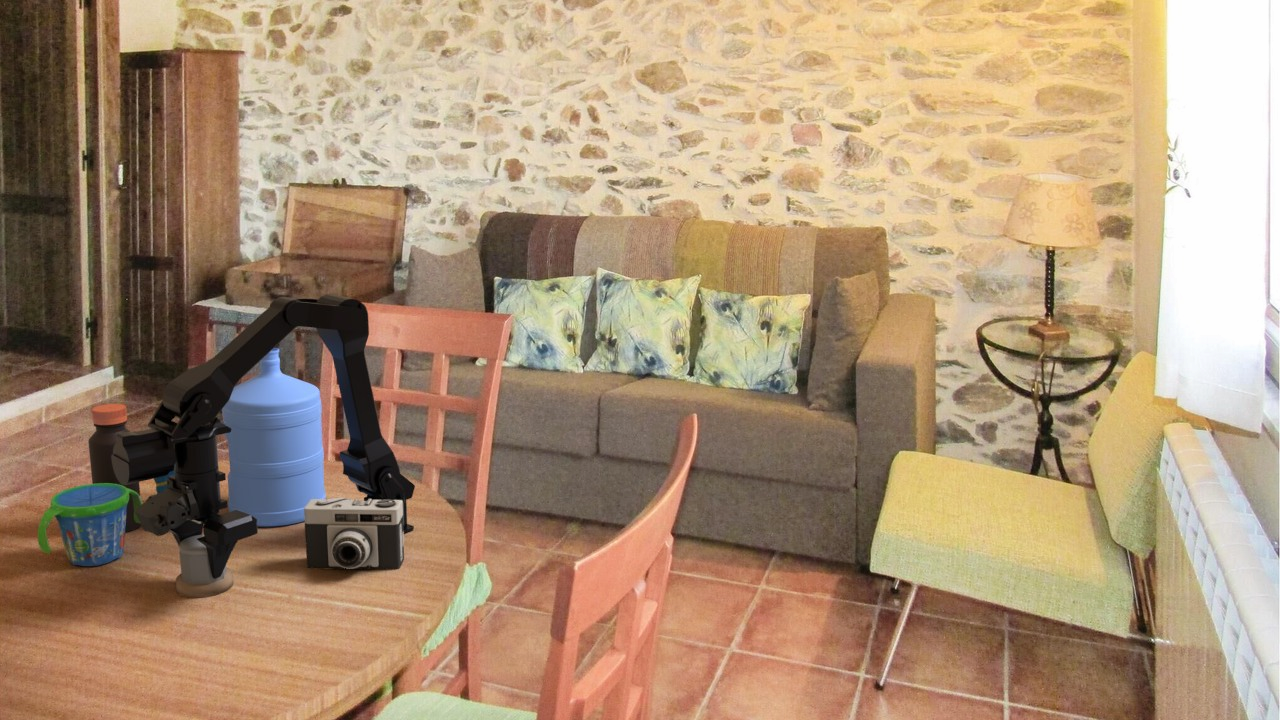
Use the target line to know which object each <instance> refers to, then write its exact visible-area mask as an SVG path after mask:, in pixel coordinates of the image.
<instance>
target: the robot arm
mask: <svg viewBox="0 0 1280 720" xmlns="http://www.w3.org/2000/svg"><path fill="white" fill-rule="evenodd" d="M369 325H370V322H369V312H368V309H367V306H366V305H365V304H364V303H363V302H361V301H360V300H359V299H355V298H352V297H348V296H343V295H339V294H334V293H326V294H324V295H322V296H320V297H319V298H305V297H304V298H303V297H299V298H298V297H297V298H296V297H295V298H292V297H287V296H278V297H277V298H275V299H274V300H272V302H271V303H270V305H269V307H268V308H266V309H265V310H263V312H262V313H261V314H260V315H259V316H258V317H257V318H255V320H253V321H252V322H251V323H250V324H249V325H248V326H247V327H245V328H244V329H243V330H242V331H241V332H240V333H239V334H238V335H237V336H235V337H234V338H233V339H232V340H231V341H230V342H229V343H228V344H226V346H225V347H223V348H222V349H221V350H220V351H219V352H218V353H217V354H216V355H214V356H213V357H212V358H210V359H209V360H208V361H205V362H204V363H201V364H198V365H197V366H193V367H191V368H189V369H188V370H186V371H184V372H183V373H181V374H180V375H178V376H177V377H175V378H174V379H172V380H171V381H169V382H168V383H167V385H166V386H165V387H164V389H163V391H162V394H163V395H162V400H161V402H160V404H159V405H158V407H157V408H156V410H155V412H154V413H153V415H152V417H151V419H150V421H149V422H148V423H147V427H148V429H143V430H137V431H130V432H124V433H119V434H117V443H116V444H115V445H114V448H113V454H112V455H111V459H112V465H113V470H114V473H115V475H116V477H117V479H118V481H119V482H120V483H121V484H122V485H127V484H132V483H136V482H139V483H140V482H145V481H148V480H154V478H158V477H163V476H167V475H168V474H169V472H171V471H174V472H175V475H172V476H168V480H167V489H166V490H165V491H163V492H161V493H159V494H157V493H155V494H152V495H149V497H147V499H146V500H145V502H143V504H142V505H140V506H139V507H138V508H136V509H135V514H136V516H137V518H138V520H139V522H140V524H141V526H140V527H141V528H142V529H143V531H144V532H149V533H152V534H153V535H155V536H157V537H161V536H163V535H166V534H168V533H169V532H170V533H171V534H172V535H173V538H174V539H175V541H176V543H177V546H178V547H179V543H180V542H181V541H182V540H184V539H186V538H189V537H192V536H196V535H203V534H204V536H203V537H200V538H197V540H198V541H199V542H201V543H202V544H204V545H205V546H206V548H207V553H208V559H209V565H210V570H211V574H212V577H213V578H214V579H216V578H219V577H220V576H221V575H222V573H223V570H224V568H225V566H226V567H227V563H228V561H229V559H230V556H231V554H232V552H233V550H234V548H235V546H236V545H237V543H238V541H242V540H244V539H246V538H247V539H248V538H249V537H253V536H255V535H257V534H258V532H259V531H258V530H259V529H258V528H259V526H257V519H256V518H254V517H253V516H251V515H249V514H246V513H244V512H241V511H238V510H234V511H231V512H229V511H228V512H225V513H220V510H225V509H229V506H228V500H226V499H223V498H221V487H220V486H221V484H220V482H223V481H227V477H226V472H224V471H220V470H219V458H218V444H217V443H218V442H217V436H220V435H225V433H230V432H231V428H230V427H228V426H227V425H225V424H224V421H223V420H221V419H220V417H218V415H219V414H220V413H221V412H222V409H223V407H224V406H225V405H226V404H227V402H228V401H229V399H230V397H231V394H232V392H233V389H234V387H235V386H237V385H238V383H239V382H240V380H242V378H244V377H245V376H246V375H247V374H248V373H249V372H250V371H251V370H252V369H253V368H254V367H255V366H256V365H258V363H259V364H260V361H261V360H262V359H263V358H264V357H265V356H266V355H267V354H268V353H269V352H270V351H271V350H273V349H274V348H277V346H278V345H279V344H280V343H282V341H283V340H285V339H286V337H288V336H289V335H290V334H291V333H292V332H293V331H294V330H295V329H297V328H298V327H301V328H302V327H303V328H315V329H316V331H317V334H318V336H319V338H320V340H321V341H322V343H323V344H324V346H325V347H326V348H327V350H328V352H329V353H330V354H331V357H332V360H333V364H334V366H333V367H334V369H335V374H336V379H337V385H338V389H339V393H340V396H341V397H340V398H341V401H342V406H343V411H344V412H343V413H344V414H345V415H344V416H345V420H346V426H347V429H348V430H347V431H348V434H349V443H348V446H347V449H345V450H342V451H340V452H339V457H340V460H341V462H342V466H343V469H342V474H343V475H345V476H346V477H347V478H348V480H349V481H350V482H352V483H353V484H355V486H356V489H357V491H358V492H359V493H363V494H366V496H364V497H363V501H368V499H372V500H384V499H390V500H402V501H403V531H404V534H405V533H408V532H411V531H413V530H415V529H414V528H415V526H414V525H412V524H408V515H407V512H408V509H407V500H409V499H412V498H413V496H414V492H415V487H416V486H415V484H414V483H413V482H411V481H410V480H409V479H408V478H407V477H406V476H405V475H403V474H402V473H401V468H400V465H399V463H398V460H397V458H396V455H395V453H394V451H393V450H392V448H391V447H390V445H389V444H388V442H387V441H386V440H385V438H384V437H383V435H382V431H381V426H380V422H379V416H378V412H377V407H376V403H375V398H374V392H373V388H372V382H371V378H370V372H369V369H368V363H367V359H366V354H365V349H366V344H367V342H368V338H369V335H370V327H369ZM175 418H177V419H179V420H178V422H176V421H173V419H175Z"/></svg>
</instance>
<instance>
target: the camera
mask: <svg viewBox="0 0 1280 720" xmlns="http://www.w3.org/2000/svg"><path fill="white" fill-rule="evenodd" d="M304 515H305V521H304V535H305V537H304V538H305V552H306V553H305V554H306V556H305V557H306V568H307V569H314V568H333V569H334V568H336V569H334V570H338V569H340V568H341V569H340V570H400V569H401V567H402V565H403V563H404V560H405V536H404V535H405V533H404V531H403V501H402V500H390V499H384V500H372V499H368V501H364V500H360V498H358V497H357V498H355V499H352V498H346V497H333V498H327V499H311V500H310V501H309V502H308V504H307V505H306V506H305V508H304ZM337 568H338V569H337ZM342 568H344V569H342ZM345 568H346V569H345ZM361 568H362V569H361ZM333 569H332V570H333Z"/></svg>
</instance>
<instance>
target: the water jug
mask: <svg viewBox="0 0 1280 720" xmlns="http://www.w3.org/2000/svg"><path fill="white" fill-rule="evenodd" d="M279 353H280V349H279V348H277V347H275V348H274V349H273V350H271V351H270V352H269V353H268V354H267V355H266V356H265V357H264V358H263V359H262V360H261V361H260V362H259V367H260V371H259V373H258V375H256V376H253V377H251V378H249V379H248V380H246V381H243V382H241V383H240V384H236V386H235V387H234V389H233V392H232V394H231V397H230V399H229V401H228V402H227V404H226V405H225V406H224V407H223V409H222V410H221V414H222V422H223V423H224V424H225V425H227V426H228V427H230V428H231V432H230V433H225V434H224V437H225V438H226V440H227V445H228V459H229V460H228V461H229V472H228V475H227V488H228V490H227V491H228V500H227V505H228V512H231V511H234V510H238V511H241V512H244V513H246V514H249V515H251V516H253V517H254V518H256V519H257V526H258V527H263V528H264V527H265V528H266V527H269V528H270V527H282V526H290V525H294V524H298V523H303V522H305V515H304V508H305V506H306V505H307V504H308V502H309V501H310V500H311V499H326V498H327V496H326V490H325V476H324V475H325V474H324V473H325V472H324V460H325V459H324V458H325V457H324V456H325V455H324V446H323V431H322V430H323V429H322V426H323V425H322V410H323V409H322V400H321V392H320V389H319V388H318V387H317V386H316V385H314V384H312V383H309V382H306V381H304V380H301V379H298V378H295V377H292V376H291V375H288V374H284V373H282V371H281V369H280V368H281V365H280V363H281V360H280V359H281V358H280V357H279V356H280V355H279Z"/></svg>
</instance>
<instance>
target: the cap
mask: <svg viewBox="0 0 1280 720" xmlns="http://www.w3.org/2000/svg"><path fill="white" fill-rule="evenodd" d="M203 536H204V533H202V535H196V536H192V537H189V538H186V539H184V540H182V541H181V542H180V543H179V546H178V549H179V550H178V551H179V561H180V562H179V563H180V574H181V577H182V581H183V582H186V583H188V584H190V585H203V584H211V583H214V582H216V581H219V580H221V579H224V577H225V574H226V572H227V569H226V567H227V565H226V566H225V568H224V570H223V573H222V575H221V576H220V577H219V578H216V579H214V578H213V577H212V574H211V570H210V565H209V559H208V553H207V548H206V546H205V545H204V544H202V543H201V542H199V541H198V540H197V538H200V537H203Z"/></svg>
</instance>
